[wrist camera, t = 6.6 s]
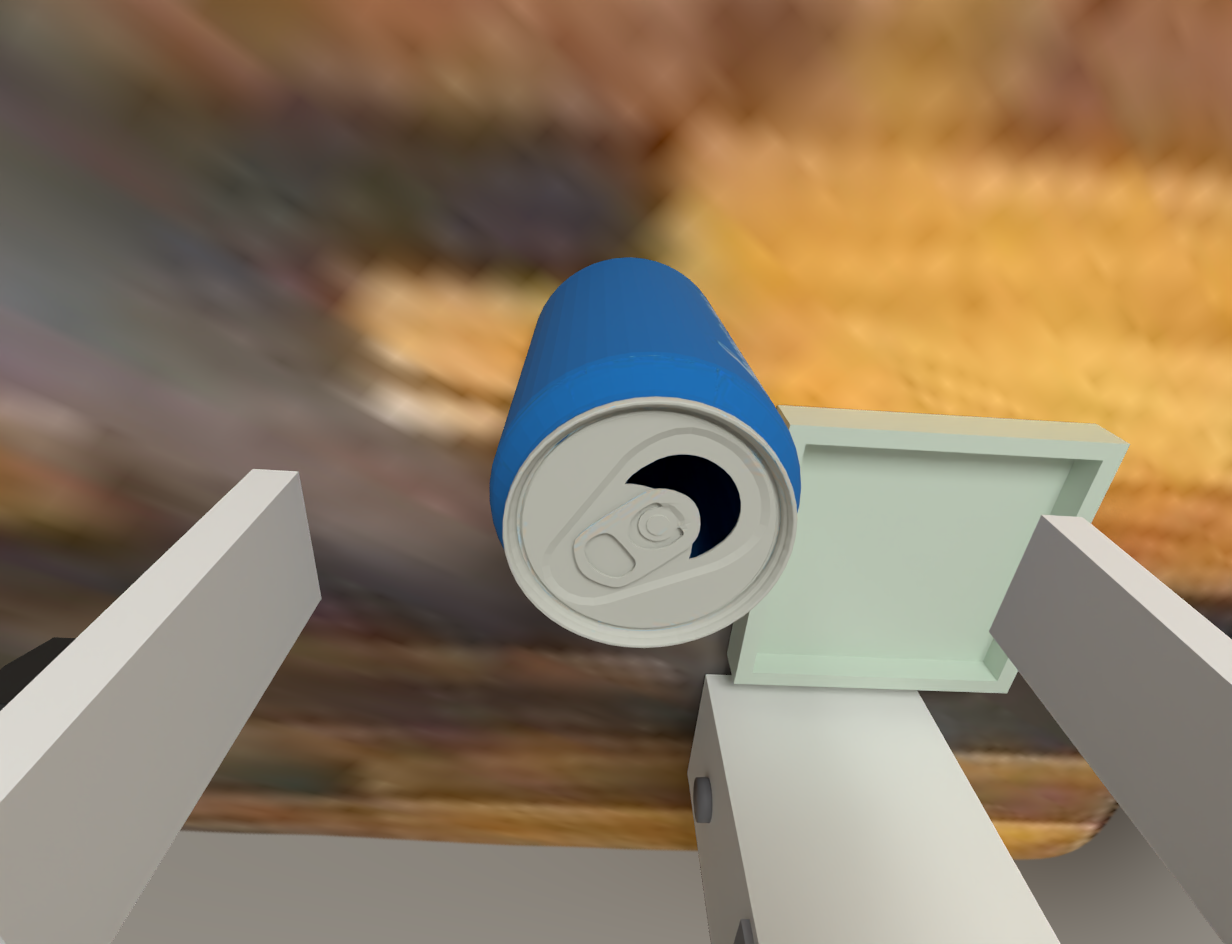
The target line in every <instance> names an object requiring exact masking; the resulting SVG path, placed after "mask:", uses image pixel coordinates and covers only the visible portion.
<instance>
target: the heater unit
mask: <svg viewBox="0 0 1232 944" xmlns="http://www.w3.org/2000/svg"><path fill="white" fill-rule="evenodd" d="M687 774H688V781H689V788H690V795H691V803H692V810H693V817H694V824H695V832H696V839H697V846H698V853H699V861H700V868H701V875H702V882H703V890H704V896H705V904H706V911H707V918H708V925H709V933H710V940H711V944H1060V942H1059V940H1058V939H1057V937H1056V935H1055V933H1054V932H1053V930H1052V928H1051V926H1050V924H1049V923H1048V921H1047V919H1046V917H1045V916H1044V914H1043V912H1042V911H1041V909H1040V907H1039V905H1038V903H1037V901H1036V900H1035V898H1034V896H1033V894H1032V893H1031V891H1030V889H1029V888H1028V886H1027V884H1026V882H1025V880H1024V879H1023V877H1022V875H1021V873H1020V872H1019V870H1018V868H1017V866H1016V864H1015V863H1014V861H1013V859H1012V857H1011V856H1010V854H1009V852H1008V850H1007V848H1006V847H1005V845H1004V843H1003V841H1002V840H1001V838H1000V836H999V834H998V833H997V831H996V829H995V827H994V826H993V824H992V822H991V820H990V818H989V817H988V815H987V813H986V811H985V810H984V808H983V806H982V804H981V803H980V801H979V799H978V797H977V795H976V794H975V792H974V790H973V788H972V787H971V785H970V783H969V781H968V780H967V778H966V776H965V774H964V773H963V771H962V769H961V767H960V765H959V764H958V762H957V760H956V758H955V757H954V755H953V753H952V751H951V750H950V748H949V746H948V744H947V742H946V741H945V739H944V737H943V735H942V734H941V732H940V730H939V728H938V727H937V725H936V723H935V721H934V720H933V718H932V716H931V714H930V712H929V711H928V709H927V707H926V705H925V704H924V702H923V700H922V698H921V697H920V695H919V693H918V691H917V690H898V689H870V688H841V687H812V686H783V685H754V684H734V682H733V678H732V675H714V674H706V676H705V681H704V686H703V692H702V697H701V702H700V708H699V713H698V718H697V724H696V729H695V734H694V740H693V745H692V750H691V756H690V761H689V766H688V772H687Z"/></svg>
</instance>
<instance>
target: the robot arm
mask: <svg viewBox="0 0 1232 944" xmlns="http://www.w3.org/2000/svg"><path fill="white" fill-rule="evenodd" d="M320 600H321V593H320V588H319V582H318V576H317V571H316V565H315V560H314V554H313V549H312V543H311V538H310V532H309V527H308V521H307V516H306V510H305V504H304V499H303V493H302V488H301V482H300V477H299V472H296V471H279V470H262V469H252V470H251V471H250V472H249V473H248V474H247V475H246V476H245V477H244V478H243V479H242V480H241V481H240V482H239V483H238V484H237V485H236V486H235V487H234V488H233V489H231V490H230V491H229V492H228V493H227V494H226V495H225V496H224V497H223V498H222V499H221V500H220V501H219V502H218V503H217V504H216V505H215V506H214V507H213V508H212V509H211V510H210V511H209V512H208V513H206V514H205V515H204V516H203V517H202V518H201V519H200V520H199V521H198V522H197V523H196V524H195V525H194V526H193V527H192V528H191V529H190V530H189V531H188V532H187V533H186V534H185V535H184V536H182V537H181V538H180V539H179V540H178V541H177V542H176V543H175V544H174V545H173V546H172V547H171V548H170V549H169V550H168V551H167V552H166V553H165V554H164V555H163V556H162V557H161V558H160V559H158V560H157V561H156V562H155V563H154V564H153V565H152V566H151V567H150V568H149V569H148V570H147V571H146V572H145V573H144V574H143V575H142V576H141V577H140V578H139V579H138V580H137V581H136V582H135V583H133V584H132V585H131V586H130V587H129V588H128V589H127V590H126V591H125V592H124V593H123V594H122V595H121V596H120V597H119V598H118V599H117V600H116V601H115V602H114V603H113V604H112V605H111V606H109V607H108V608H107V609H106V610H105V611H104V612H103V613H102V614H101V615H100V616H99V617H98V618H97V619H96V620H95V621H94V622H93V623H92V624H91V625H90V626H89V627H88V628H87V629H85V630H84V631H83V632H82V633H81V634H80V635H79V636H78V637H77V638H55V637H54V638H52V639H50V640H49V641H47V642H45V643H44V644H42V645H40V646H38V647H37V648H35V649H33V650H31V651H30V652H28V653H26V654H24V655H23V656H21V657H19V658H18V659H16V660H14V661H12V662H11V663H9V664H7V665H5V666H4V667H3V668H2V669H1V670H0V944H111V943H112V941H113V939H114V937H115V936H116V934H117V933H118V931H119V930H120V928H121V926H122V925H123V923H124V921H125V920H126V918H127V916H128V914H129V913H130V911H131V910H132V908H133V907H134V905H135V903H136V902H137V900H138V898H139V897H140V895H141V893H142V892H143V890H144V889H145V887H146V885H147V883H148V882H149V880H150V878H151V877H152V875H153V874H154V872H155V871H156V869H157V867H158V866H159V864H160V862H161V861H162V859H163V857H164V856H165V854H166V852H167V851H168V849H169V848H170V846H171V844H172V842H173V841H174V839H175V838H176V836H177V834H178V833H179V831H180V830H181V828H182V826H183V825H184V823H185V821H186V820H187V818H188V816H189V815H190V813H191V812H192V810H193V808H194V807H195V805H196V803H197V802H198V800H199V798H200V797H201V795H202V793H203V792H204V790H205V789H206V787H207V785H208V784H209V782H210V780H211V779H212V777H213V775H214V774H215V772H216V771H217V769H218V767H219V766H220V764H221V762H222V761H223V759H224V757H225V756H226V754H227V753H228V751H229V749H230V748H231V746H232V744H233V743H234V741H235V739H236V738H237V736H238V734H239V733H240V731H241V730H242V728H243V726H244V725H245V723H246V721H247V720H248V718H249V716H250V715H251V713H252V712H253V710H254V708H255V707H256V705H257V703H258V702H259V700H260V698H261V697H262V695H263V694H264V692H265V690H266V689H267V687H268V685H269V684H270V682H271V680H272V679H273V677H274V676H275V674H276V672H277V671H278V669H279V667H280V666H281V664H282V662H283V661H284V659H285V657H286V656H287V654H288V653H289V651H290V649H291V648H292V646H293V644H294V643H295V641H296V639H297V638H298V636H299V635H300V633H301V631H302V630H303V628H304V626H305V625H306V623H307V621H308V620H309V618H310V617H311V615H312V613H313V612H314V610H315V608H316V607H317V605H318V603H319V602H320ZM989 633H990V634H991V635H992V637H993V638H994V639H995V641H996V642H997V643H998V645H999V646H1000V647H1001V649H1002V650H1003V651H1004V653H1005V654H1006V655H1007V657H1008V658H1009V659H1010V661H1011V662H1012V663H1013V665H1014V666H1015V667H1016V669H1017V670H1018V671H1019V673H1020V674H1021V675H1022V676H1023V678H1024V679H1025V680H1026V682H1027V683H1028V684H1029V686H1030V687H1031V688H1032V690H1033V691H1034V692H1035V694H1036V695H1037V696H1038V698H1039V699H1040V700H1041V702H1042V703H1043V704H1044V706H1045V707H1046V708H1047V710H1048V711H1049V712H1050V714H1051V715H1052V716H1053V718H1054V719H1055V720H1056V722H1057V723H1058V724H1059V726H1060V727H1061V728H1062V730H1063V731H1064V732H1065V734H1066V735H1067V736H1068V737H1069V739H1070V740H1071V741H1072V743H1073V744H1074V745H1075V747H1076V748H1077V749H1078V751H1079V752H1080V753H1081V755H1082V756H1083V757H1084V759H1085V760H1086V761H1087V763H1088V764H1089V765H1090V767H1091V768H1092V769H1093V771H1094V772H1095V773H1096V775H1097V776H1098V777H1099V779H1100V780H1101V781H1102V783H1103V784H1104V785H1105V787H1106V788H1107V789H1108V791H1109V792H1110V793H1111V795H1112V796H1113V797H1114V798H1115V800H1116V801H1117V802H1118V804H1119V805H1120V806H1121V808H1122V809H1123V810H1124V812H1125V813H1126V814H1127V815H1128V817H1129V818H1130V820H1131V821H1132V822H1133V823H1134V825H1135V826H1136V828H1137V829H1138V830H1139V832H1140V833H1141V834H1142V836H1143V837H1144V838H1145V839H1146V841H1147V842H1148V844H1149V845H1150V846H1151V848H1152V849H1153V850H1154V851H1155V853H1156V854H1157V855H1158V857H1159V858H1160V859H1161V861H1162V862H1163V863H1164V865H1165V866H1166V867H1167V869H1168V870H1169V871H1170V873H1171V874H1172V875H1173V877H1174V878H1175V879H1176V881H1177V882H1178V883H1179V885H1180V886H1181V887H1182V889H1183V890H1184V891H1185V893H1186V894H1187V895H1188V897H1189V898H1190V899H1191V901H1192V902H1193V903H1194V905H1195V906H1196V907H1197V909H1198V910H1199V911H1200V913H1201V914H1202V915H1203V916H1204V918H1205V919H1206V920H1207V922H1208V923H1209V924H1210V926H1211V927H1212V928H1213V930H1214V931H1215V932H1216V934H1217V935H1218V936H1219V938H1220V939H1221V940H1222V942H1223V943H1224V944H1232V639H1230V638H1229V637H1228V636H1227V635H1225V634H1224V633H1223V632H1222V631H1221V630H1219V629H1218V628H1217V627H1216V626H1214V625H1213V624H1212V623H1211V622H1210V621H1208V620H1207V619H1206V618H1205V617H1204V616H1202V615H1201V614H1200V613H1199V612H1197V611H1196V610H1195V609H1194V608H1193V607H1191V606H1190V605H1189V604H1188V603H1186V602H1185V601H1184V600H1183V599H1182V598H1180V597H1179V596H1178V595H1177V594H1176V593H1174V592H1173V591H1172V590H1171V589H1169V588H1168V587H1167V586H1166V585H1165V584H1163V583H1162V582H1161V581H1160V580H1158V579H1157V578H1156V577H1155V576H1154V575H1152V574H1151V573H1150V572H1149V571H1148V570H1146V569H1145V568H1144V567H1143V566H1141V565H1140V564H1139V563H1138V562H1137V561H1135V560H1134V559H1133V558H1132V557H1131V556H1129V555H1128V554H1127V553H1126V552H1124V551H1123V550H1122V549H1121V548H1120V547H1118V546H1117V545H1116V544H1115V543H1113V542H1112V541H1111V540H1110V539H1109V538H1107V537H1106V536H1105V535H1104V534H1103V533H1101V532H1100V531H1099V530H1098V529H1096V528H1095V527H1094V526H1093V525H1092V524H1090V523H1089V522H1088V521H1087V520H1085V519H1084V518H1083V517H1072V516H1055V515H1041V517H1040V519H1039V521H1038V523H1037V526H1036V528H1035V530H1034V532H1033V534H1032V537H1031V539H1030V541H1029V543H1028V546H1027V548H1026V550H1025V552H1024V554H1023V557H1022V559H1021V561H1020V563H1019V566H1018V568H1017V570H1016V572H1015V574H1014V577H1013V579H1012V581H1011V583H1010V586H1009V588H1008V590H1007V592H1006V594H1005V597H1004V599H1003V601H1002V603H1001V606H1000V608H999V610H998V612H997V614H996V617H995V619H994V621H993V623H992V626H991V628H990V630H989Z"/></svg>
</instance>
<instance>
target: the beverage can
mask: <svg viewBox="0 0 1232 944" xmlns="http://www.w3.org/2000/svg"><path fill="white" fill-rule="evenodd" d="M800 495H801V475H800V464H799V459H798V455H797V450H796V447H795V444H794V442H793V439H792V436H791V434H790V431H789V430H788V428H787V426H786V424H785V423H784V421H783V419H782V417H781V415H780V414H779V412H778V411H777V409H776V408H775V406H774V404H773V403H772V401H771V400H770V398H769V397H768V395H767V393H766V392H765V390H764V389H763V387H762V385H761V384H760V382H759V381H758V379H757V378H756V376H755V374H754V373H753V371H752V370H751V368H750V367H749V365H748V363H747V362H746V360H745V359H744V357H743V355H742V354H741V352H740V351H739V349H738V348H737V346H736V344H735V343H734V341H733V340H732V338H731V337H730V335H729V333H728V332H727V330H726V329H725V327H724V325H723V324H722V322H721V321H720V319H719V318H718V316H717V314H716V313H715V311H714V310H713V308H712V307H711V305H710V303H709V302H708V300H707V299H706V297H705V296H704V295H703V293H702V292H701V291H700V290H699V288H698V287H697V286H696V285H695V284H694V283H693V282H691V281H690V280H689V279H688V278H687V277H685V276H684V275H683V274H681V273H680V272H678V271H676V270H675V269H673V268H671V267H669V266H667V265H664V264H661V263H659V262H656V261H652V260H647V259H642V258H630V257H629V258H615V259H610V260H605V261H601V262H598V263H595V264H592V265H590V266H588V267H586V268H584V269H582V270H580V271H578V272H577V273H575V274H574V275H572V276H571V277H569V278H568V279H567V280H566V281H565V282H563V283H562V284H561V285H560V286H559V287H558V288H557V289H556V291H555V292H554V293H553V294H552V295H551V296H550V298H549V300H548V301H547V303H546V304H545V306H544V308H543V310H542V312H541V314H540V316H539V318H538V321H537V325H536V328H535V331H534V334H533V337H532V341H531V344H530V347H529V350H528V353H527V356H526V360H525V363H524V366H523V369H522V372H521V375H520V379H519V382H518V385H517V388H516V391H515V394H514V398H513V401H512V404H511V407H510V410H509V414H508V417H507V420H506V423H505V426H504V429H503V433H502V436H501V439H500V442H499V445H498V448H497V452H496V455H495V458H494V462H493V465H492V471H491V478H490V505H491V511H492V517H493V523H494V526H495V529H496V532H497V535H498V538H499V540H500V542H501V544H502V546H503V548H504V550H505V555H506V558H507V561H508V564H509V567H510V570H511V572H512V574H513V576H514V578H515V580H516V582H517V584H518V585H519V587H520V588H521V590H522V591H523V593H524V594H525V595H526V597H527V598H528V599H529V600H530V601H531V602H532V603H533V604H534V605H535V607H536V608H537V609H539V610H540V611H541V612H542V613H543V614H544V615H546V616H547V617H548V618H549V619H551V620H552V621H554V622H555V623H557V624H558V625H560V626H561V627H563V628H565V629H567V630H569V631H571V632H573V633H575V634H577V635H580V636H582V637H585V638H588V639H590V640H593V641H597V642H601V643H605V644H609V645H615V646H622V647H634V648H652V647H664V646H671V645H677V644H682V643H686V642H689V641H693V640H697V639H699V638H702V637H705V636H708V635H710V634H713V633H715V632H717V631H719V630H721V629H723V628H725V627H727V626H729V625H730V624H732V623H733V622H735V621H737V620H738V619H740V618H741V617H743V616H744V615H745V614H747V613H748V612H749V611H750V610H752V609H753V608H754V607H755V606H756V605H757V604H758V603H759V602H760V601H761V600H762V599H763V598H764V597H765V596H766V595H767V594H768V593H769V592H770V590H771V589H772V588H773V586H774V585H775V584H776V583H777V581H778V579H779V578H780V576H781V574H782V573H783V571H784V569H785V568H786V565H787V563H788V560H789V558H790V556H791V553H792V550H793V546H794V542H795V538H796V530H797V513H798V509H799V505H800Z"/></svg>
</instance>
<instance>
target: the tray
mask: <svg viewBox="0 0 1232 944" xmlns="http://www.w3.org/2000/svg"><path fill="white" fill-rule="evenodd" d="M777 411H778V412H779V414H780V415H781V417H782V419H783V421H784V423H785V424H786V426H787V428H788V430H789V431H790V434H791V436H792V439H793V442H794V444H795V447H796V450H797V455H798V459H799V464H800V475H801V495H800V505H799V509H798V513H797V530H796V538H795V542H794V546H793V550H792V553H791V556H790V558H789V560H788V563H787V565H786V568H785V569H784V571H783V573H782V574H781V576H780V578H779V579H778V581H777V583H776V584H775V585H774V586H773V588H772V589H771V590H770V592H769V593H768V594H767V595H766V596H765V597H764V598H763V599H762V600H761V601H760V602H759V603H758V604H757V605H756V606H755V607H754V608H753V609H752V610H750V611H749V612H748V613H747V614H745V615H744V616H743V617H741V618H740V619H738V620H737V621H735V622H733V626H732V631H731V636H730V641H729V646H728V650H727V657H728V661H729V665H730V670H731V674H732V678H733V682H734V684H754V685H783V686H812V687H841V688H870V689H898V690H927V691H956V692H985V693H1007V692H1008V690H1009V688H1010V686H1011V684H1012V682H1013V680H1014V678H1015V676H1016V674H1017V672H1018V670H1017V669H1016V667H1015V666H1014V665H1013V663H1012V662H1011V661H1010V659H1009V658H1008V657H1007V655H1006V654H1005V653H1004V651H1003V650H1002V649H1001V647H1000V646H999V645H998V643H997V642H996V641H995V639H994V638H993V637H992V635H991V634H990V633H989V630H990V628H991V626H992V623H993V621H994V619H995V617H996V614H997V612H998V610H999V608H1000V606H1001V603H1002V601H1003V599H1004V597H1005V594H1006V592H1007V590H1008V588H1009V586H1010V583H1011V581H1012V579H1013V577H1014V574H1015V572H1016V570H1017V568H1018V566H1019V563H1020V561H1021V559H1022V557H1023V554H1024V552H1025V550H1026V548H1027V546H1028V543H1029V541H1030V539H1031V537H1032V534H1033V532H1034V530H1035V528H1036V526H1037V523H1038V521H1039V519H1040V517H1041V515H1055V516H1072V517H1083V518H1084V519H1085V520H1087V521H1088V522H1089V523H1090V524H1091V522H1092V520H1093V518H1094V516H1095V514H1096V512H1097V510H1098V508H1099V506H1100V504H1101V502H1102V500H1103V498H1104V496H1105V494H1106V492H1107V490H1108V488H1109V486H1110V484H1111V482H1112V480H1113V478H1114V476H1115V474H1116V472H1117V470H1118V468H1119V466H1120V464H1121V462H1122V460H1123V458H1124V456H1125V454H1126V452H1127V450H1128V448H1129V446H1130V444H1129V443H1127V442H1126V441H1124V440H1122V439H1121V438H1119V437H1117V436H1116V435H1114V434H1112V433H1110V432H1109V431H1107V430H1105V429H1104V428H1102V427H1100V426H1099V425H1097V424H1090V423H1073V422H1056V421H1039V420H1022V419H1005V418H988V417H971V416H954V415H937V414H920V413H904V412H887V411H870V410H853V409H836V408H819V407H802V406H785V405H778V406H777Z"/></svg>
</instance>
